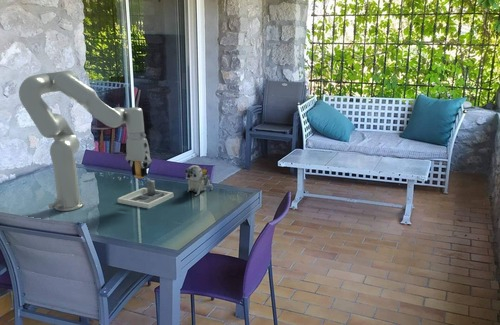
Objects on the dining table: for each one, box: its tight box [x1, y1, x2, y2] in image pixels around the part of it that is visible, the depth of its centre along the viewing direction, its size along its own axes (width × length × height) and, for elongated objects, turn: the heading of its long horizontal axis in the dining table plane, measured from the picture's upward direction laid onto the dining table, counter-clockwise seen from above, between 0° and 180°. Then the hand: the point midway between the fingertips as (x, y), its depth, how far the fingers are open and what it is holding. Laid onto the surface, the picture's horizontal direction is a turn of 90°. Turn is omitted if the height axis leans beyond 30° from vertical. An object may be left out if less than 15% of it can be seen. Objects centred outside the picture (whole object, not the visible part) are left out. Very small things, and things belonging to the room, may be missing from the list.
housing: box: [117, 187, 174, 210], centre depth 226 cm, size 18×18×3 cm
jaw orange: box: [134, 161, 146, 180], centre depth 219 cm, size 5×5×8 cm
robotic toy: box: [184, 164, 214, 197], centre depth 236 cm, size 13×17×15 cm
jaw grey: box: [146, 179, 156, 197], centre depth 229 cm, size 5×5×8 cm
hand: (139, 175), depth 220 cm, fingers closed on jaw orange, 4 cm apart
